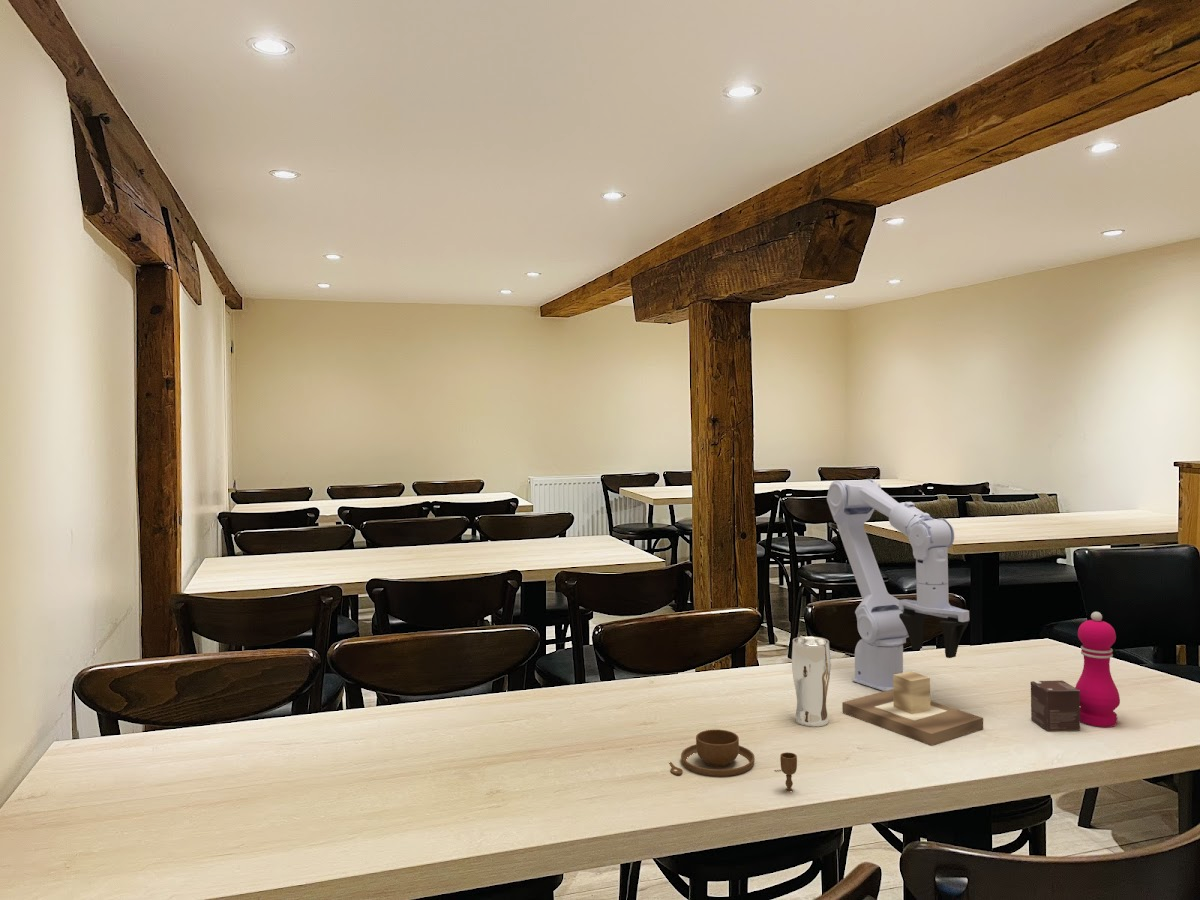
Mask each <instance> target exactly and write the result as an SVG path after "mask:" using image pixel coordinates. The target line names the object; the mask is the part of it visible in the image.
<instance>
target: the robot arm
mask: <svg viewBox="0 0 1200 900" xmlns="http://www.w3.org/2000/svg"><path fill="white" fill-rule="evenodd" d="M826 502H827V504H828V508H829V511H830V513H831V516H832V519H833V521H834V522H835V523H836V527H837V530H838V534H839V535H840V538H841V541H842V545H843V548H844V551H845V553H846V555H847V556H846V557H847V558H848V562H849V565H850V566H851V570H852V573H853V576H854V579H855V582H856V585H857V588H858V590H859V593H860V596H861V599H862V600H861V602H860V603H859V605H858V606H857V607H856V609H855V611H854V614H855V616H856V621H857V622H856V623H857V624H856V625H857V626H856V627H857V631H858V633H859V635H860V637H861V639H859V640H858V641H857V643H856V645H855V649H854V678H852V679H851V680H852V682H855V683H858V684H860V685H864V686H867V687H870V688H874V689H876V690H879V691H881V692H883V691H887V690H891V689H893V675H894V674H900V673H904V644H907V638H909V641H910V642H909V643H910V644H911V649H912V650H913V651H917V650H921V649H923V644H924V639H923V638H924V626H925V625H924V624H925V620H926V615H930V616H934V617H938V618H945V620H940V621H939V624H940V627H941V630H942V634H943V635H942V636H943V639H944V655H945V658H947V659H952V658H955V657H957V652H958V648H959V644H960V641H961V639H962V636H963V634H964V632H965V630H966V629H967V627H968V626H969V622H970V610H968V609H963V608H960V607H956V606H953V605H951V603H950V602H949V600H950V599H949V598H950V597H949V566H948V565H949V560H948V558H949V557H948V554H949V553H948V552H949V551H948V549H949V548H950V547H952V545H953V544H954V541H955V531H954V527H953V525H952V524H951V523H950V521H948V520H947V519H946V518H942V517H941V518H933V517H932V516H931V515H930V514H929V513H928V512H923V511H922V510H921V509H919V508H917V507H915V506H916V505H915V503H914V502H913V501H905V502H898V501H897V500H896V499H894V497H892V496H891V495H889V493H887V492H885V491H884V490H883V489H882V488H881V484H880V483H879V482H877V481H875V480H874V479H873V478H866V479H858V480H857V479H856V480H855V479H854V480H853V479H852V480H834V481H832V482H831V483H830V485H829V487H828V491H827V495H826ZM875 511H877V512H878V513H881V514H882V515H884V516H886V517H887V518H888V521H889V524H890V526H891V527H892V528H894V529H896V530H897V531H898V532H900V533H901V534H903V535H904V536H906V537H907V538H908V541H909V544H910V546H911V548H912V556H913V558H914V559H915V573H916V574H915V575H916V582H915V583H916V585H915V586H916V600H915V599H913V600H912V599H906V598H905V599H898V598H896V597H895V596H893V595H892V594H890V593H889V592H888V590H887V587H886V584H885V581H884V579H883V575H882V574H881V571H880V568H879V565H878V562H877V560H876V557H875V554H874V551H873V548H872V545H871V543H870V541H869V537H868V535H867V532H866V529H865V526H864V525H865V523H866V522H868V521H869V520H870V519H871V517H872V515H873V513H874V512H875Z"/></svg>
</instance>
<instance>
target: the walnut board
mask: <svg viewBox="0 0 1200 900" xmlns="http://www.w3.org/2000/svg"><path fill="white" fill-rule="evenodd" d="M841 708H842V709H841V710H842V711H841V712H843V714H845V713H846V714H845V715H847V714H848V715H847V716H850V715H851V717H852V718H853V717H854V718H856V719H859V720H860V721H861V720H862V721H865V722H867V723H870V724H872V725H875V726H877V727H880V728H883V729H885V730H889V731H891V732H894V733H896V734H899V735H902V736H905V737H908V738H910V739H913V740H915V741H918V742H921V743H924V744H927V745H929V746H935V745H938V744H941V743H945V742H948V741H950V740H953V739H957V738H959V737H963V736H965V735H968V734H973V733H975V732H978V731H982V730H984V717H982V716H978V715H975V714H972V713H970V712H966V711H963V710H959V709H956V708H954V707H950V706H947V705H945V704H940V703H939V702H934V701H931V700H930V710H929V711H924V712H919V713H914V714H910V713H908V712H905V711H903V710H900V709H898V708H896V707H894V702H893V689H891V690H887V691H879V692H877V693H872V694H869V695H864V696H861V697H857V698H852V699H850V700H845V701H843V702H842V706H841Z"/></svg>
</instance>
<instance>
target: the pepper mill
mask: <svg viewBox="0 0 1200 900" xmlns="http://www.w3.org/2000/svg"><path fill="white" fill-rule="evenodd" d="M1090 618H1091V619H1088V620H1084V622H1082V623H1081V624H1080V625H1079V627H1078V629H1077V637H1078V640H1079V641H1080V642H1081V644H1082V645H1080V649H1081V651H1080V654H1081V655H1083V656H1082V657H1083V668H1082V671H1081V674H1080V677H1079V679H1078V680H1077V682H1076V685H1075V686H1074V687H1075V688H1076V689H1078V690H1080V723H1082V724H1084V723H1085V724H1084V725H1087V724H1088V726H1091V725H1092V726H1093V727H1097V726H1099V727H1098V728H1110V726H1112V727H1115V726H1116V725H1118V724H1117V723H1118V720H1117V719H1118V717H1117V716H1118V715H1117V713H1116V712H1115V710H1116V709H1117V708H1118V707H1119V706H1120V703H1121V699H1120V698H1121V697H1120V692H1119V690H1118V688H1117V686H1116V684H1115V682H1114V680H1113V677H1112V673H1111V669H1110V667H1111V665H1110V663H1111V658H1113V657H1114V654H1113V651H1114V650H1113V648H1112V646H1113V645H1114V644H1115V643H1116V639H1117V635H1116V634H1117V633H1116V631H1115V628H1114V627H1113V626H1112V625H1111V624H1110V623H1108V622H1106V621H1104V620H1102V619H1103V614H1101V612H1099V611H1093V612H1092V613H1091V615H1090Z"/></svg>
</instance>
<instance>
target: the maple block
mask: <svg viewBox="0 0 1200 900" xmlns="http://www.w3.org/2000/svg"><path fill="white" fill-rule="evenodd" d="M930 701H931V677H928V676H926V675H923V674H920V673H917V672H916V671H912V670H911V671H908V672H907V671H906V672H903V673H900V674H894V675H893V702H894V707H896V708H898V709H900V710H903V711H905V712H908V713H910V714H914V713H919V712H924V711H929V710H930Z"/></svg>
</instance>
